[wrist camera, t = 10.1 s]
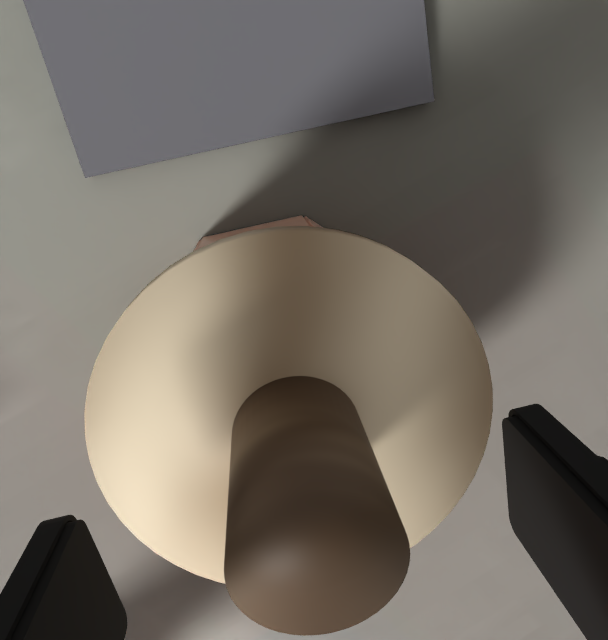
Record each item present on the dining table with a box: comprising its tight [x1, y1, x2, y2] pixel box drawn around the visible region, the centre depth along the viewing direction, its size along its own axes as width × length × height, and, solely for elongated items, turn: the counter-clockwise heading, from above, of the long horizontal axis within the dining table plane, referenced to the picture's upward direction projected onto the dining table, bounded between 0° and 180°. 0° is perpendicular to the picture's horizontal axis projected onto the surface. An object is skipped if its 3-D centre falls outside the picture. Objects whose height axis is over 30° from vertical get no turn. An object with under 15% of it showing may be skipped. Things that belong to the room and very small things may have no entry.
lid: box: [85, 226, 493, 635], centre depth 12 cm, size 11×11×5 cm
